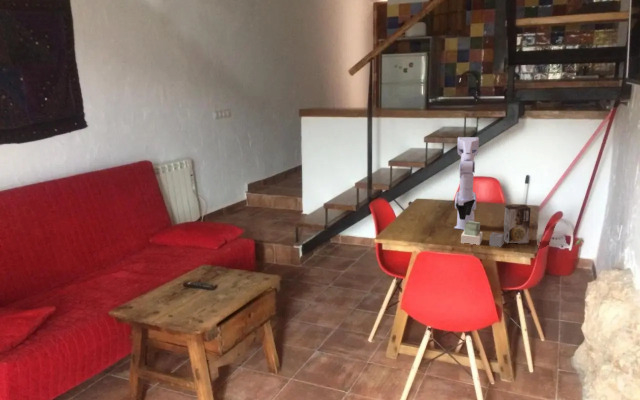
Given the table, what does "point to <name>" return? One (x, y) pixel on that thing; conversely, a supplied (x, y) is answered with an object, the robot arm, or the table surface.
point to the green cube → (472, 228)
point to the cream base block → (471, 238)
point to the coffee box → (517, 224)
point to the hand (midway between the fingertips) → (464, 217)
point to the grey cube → (496, 239)
